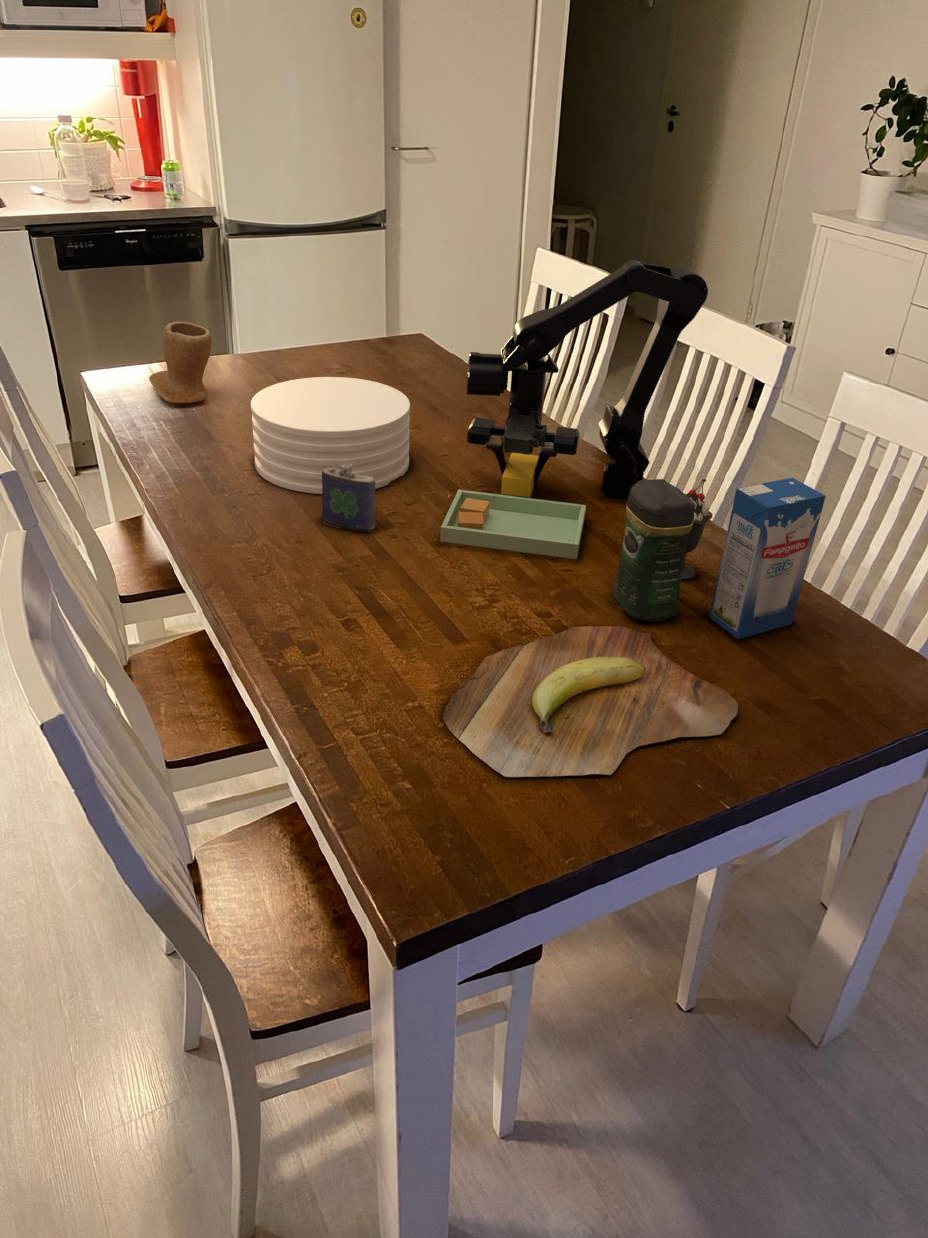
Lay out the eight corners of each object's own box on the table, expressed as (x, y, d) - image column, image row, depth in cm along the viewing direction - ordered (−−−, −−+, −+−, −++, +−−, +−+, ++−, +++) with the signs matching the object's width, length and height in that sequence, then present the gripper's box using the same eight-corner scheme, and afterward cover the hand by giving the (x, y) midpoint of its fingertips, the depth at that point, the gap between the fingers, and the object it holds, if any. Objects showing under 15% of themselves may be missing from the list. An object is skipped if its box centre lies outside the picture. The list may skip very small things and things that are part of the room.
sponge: (537, 476, 176) (539, 455, 173) (529, 501, 166) (531, 480, 164) (510, 473, 176) (511, 452, 174) (500, 498, 167) (502, 476, 165)
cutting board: (618, 613, 138) (621, 590, 136) (763, 717, 119) (770, 692, 117) (404, 684, 121) (404, 659, 119) (533, 818, 102) (536, 790, 100)
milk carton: (737, 639, 134) (768, 507, 123) (708, 617, 139) (735, 488, 128) (791, 624, 138) (826, 495, 127) (761, 603, 143) (792, 477, 132)
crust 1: (489, 515, 162) (490, 501, 161) (482, 525, 159) (483, 511, 157) (466, 511, 163) (466, 497, 162) (459, 521, 160) (460, 507, 158)
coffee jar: (684, 620, 137) (708, 501, 128) (633, 627, 135) (653, 506, 125) (653, 586, 145) (673, 471, 135) (605, 592, 143) (621, 475, 133)
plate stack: (224, 474, 172) (218, 412, 166) (304, 424, 194) (302, 368, 188) (366, 506, 164) (365, 442, 158) (433, 450, 186) (434, 392, 180)
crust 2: (482, 526, 158) (483, 512, 157) (482, 537, 155) (483, 523, 154) (457, 525, 158) (458, 511, 157) (457, 536, 155) (458, 522, 154)
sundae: (703, 566, 152) (721, 477, 144) (697, 586, 146) (715, 494, 138) (661, 557, 153) (676, 469, 145) (653, 577, 148) (669, 486, 140)
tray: (584, 521, 163) (586, 504, 161) (576, 562, 151) (578, 544, 149) (457, 505, 166) (458, 489, 164) (439, 544, 154) (440, 526, 152)
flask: (377, 528, 157) (377, 466, 152) (369, 535, 155) (368, 473, 149) (327, 516, 160) (324, 455, 154) (318, 523, 158) (315, 462, 152)
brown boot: (222, 403, 202) (216, 331, 194) (164, 410, 197) (155, 336, 189) (204, 381, 213) (198, 311, 205) (149, 387, 209) (140, 316, 201)
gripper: (463, 405, 157) (458, 494, 165) (578, 418, 155) (568, 507, 163) (475, 384, 166) (470, 469, 175) (584, 395, 164) (574, 481, 172)
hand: (519, 482), depth 171 cm, fingers closed on sponge, 5 cm apart
